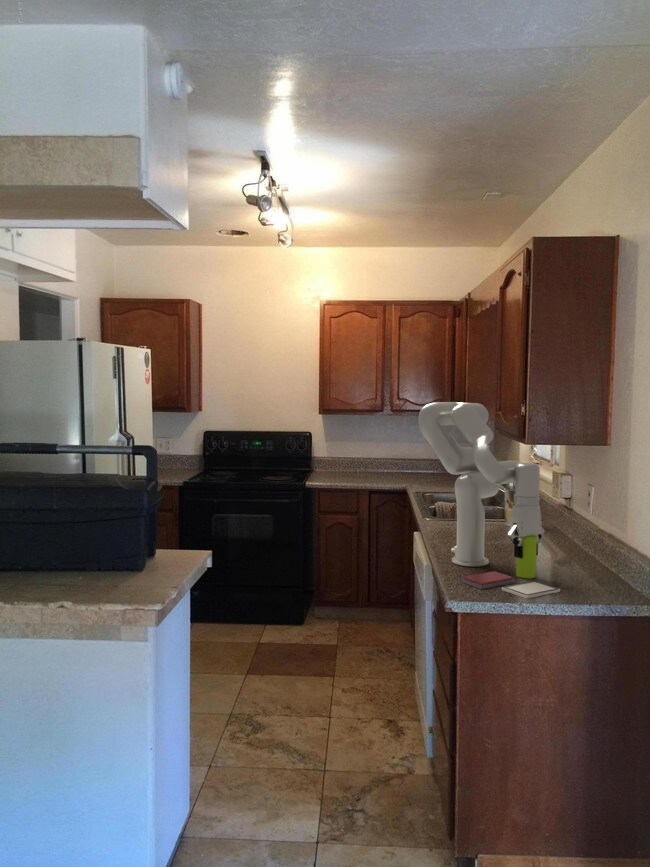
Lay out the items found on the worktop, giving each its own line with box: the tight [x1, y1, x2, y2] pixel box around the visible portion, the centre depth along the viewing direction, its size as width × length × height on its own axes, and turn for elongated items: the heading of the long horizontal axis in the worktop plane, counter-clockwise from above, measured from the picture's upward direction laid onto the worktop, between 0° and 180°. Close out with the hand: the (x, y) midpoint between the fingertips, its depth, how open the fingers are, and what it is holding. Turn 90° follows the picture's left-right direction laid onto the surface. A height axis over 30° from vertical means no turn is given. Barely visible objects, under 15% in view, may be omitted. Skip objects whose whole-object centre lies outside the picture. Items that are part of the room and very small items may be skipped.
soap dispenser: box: [515, 533, 537, 579], centre depth 228 cm, size 6×7×20 cm
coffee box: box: [504, 488, 515, 527], centre depth 309 cm, size 9×6×16 cm
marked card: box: [501, 580, 561, 600], centre depth 212 cm, size 10×14×1 cm
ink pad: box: [461, 571, 516, 590], centre depth 221 cm, size 9×14×2 cm, turn 120°
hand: (525, 555), depth 228 cm, fingers closed on soap dispenser, 6 cm apart
